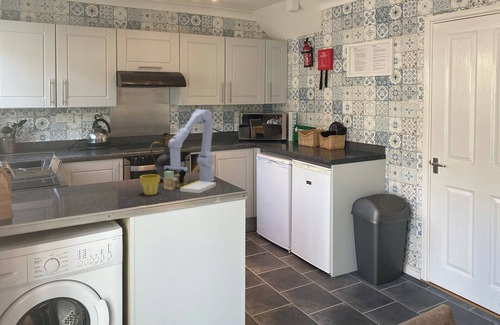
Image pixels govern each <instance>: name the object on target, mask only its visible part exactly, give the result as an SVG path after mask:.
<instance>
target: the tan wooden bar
mask: <svg viewBox="0 0 500 325" xmlns="http://www.w3.org/2000/svg"><path fill="white" fill-rule="evenodd" d="M163 180H164V181H163ZM162 181H163V190H168V191H172V190H175V189H176V188H180V187H183V186H185V185H188V184H189V174H188V173H187V174H185V177H184V180H183V183H180V176H179V175H178V174H177V175H174V178H173V179H164V178H162Z"/></svg>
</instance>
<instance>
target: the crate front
mask: <svg viewBox="0 0 500 325" xmlns="http://www.w3.org/2000/svg"><path fill="white" fill-rule="evenodd" d="M173 178H174V171H165V172H164V178H163V179H173Z"/></svg>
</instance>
